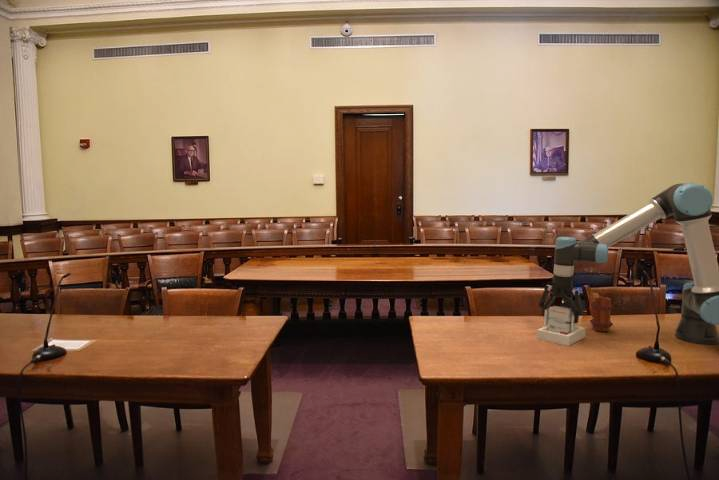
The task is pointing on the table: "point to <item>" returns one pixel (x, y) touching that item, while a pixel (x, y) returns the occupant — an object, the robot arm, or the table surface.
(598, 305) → the mug
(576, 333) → the tray
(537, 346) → the table surface
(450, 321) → the table surface
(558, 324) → the ink box
